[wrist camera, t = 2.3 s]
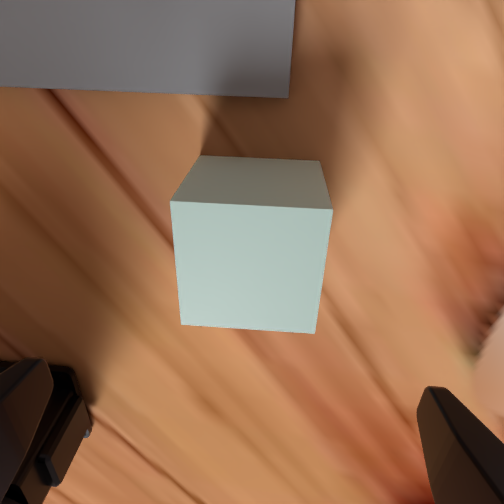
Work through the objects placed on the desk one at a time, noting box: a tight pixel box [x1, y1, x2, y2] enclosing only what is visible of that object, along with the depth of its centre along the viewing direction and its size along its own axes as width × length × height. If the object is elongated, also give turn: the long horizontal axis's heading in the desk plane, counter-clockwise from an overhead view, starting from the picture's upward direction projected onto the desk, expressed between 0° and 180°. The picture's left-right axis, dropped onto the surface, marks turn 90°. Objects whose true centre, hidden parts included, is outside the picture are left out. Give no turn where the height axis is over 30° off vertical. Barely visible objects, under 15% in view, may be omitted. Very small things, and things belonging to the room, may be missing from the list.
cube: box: [170, 155, 333, 334], centre depth 15 cm, size 5×5×5 cm
